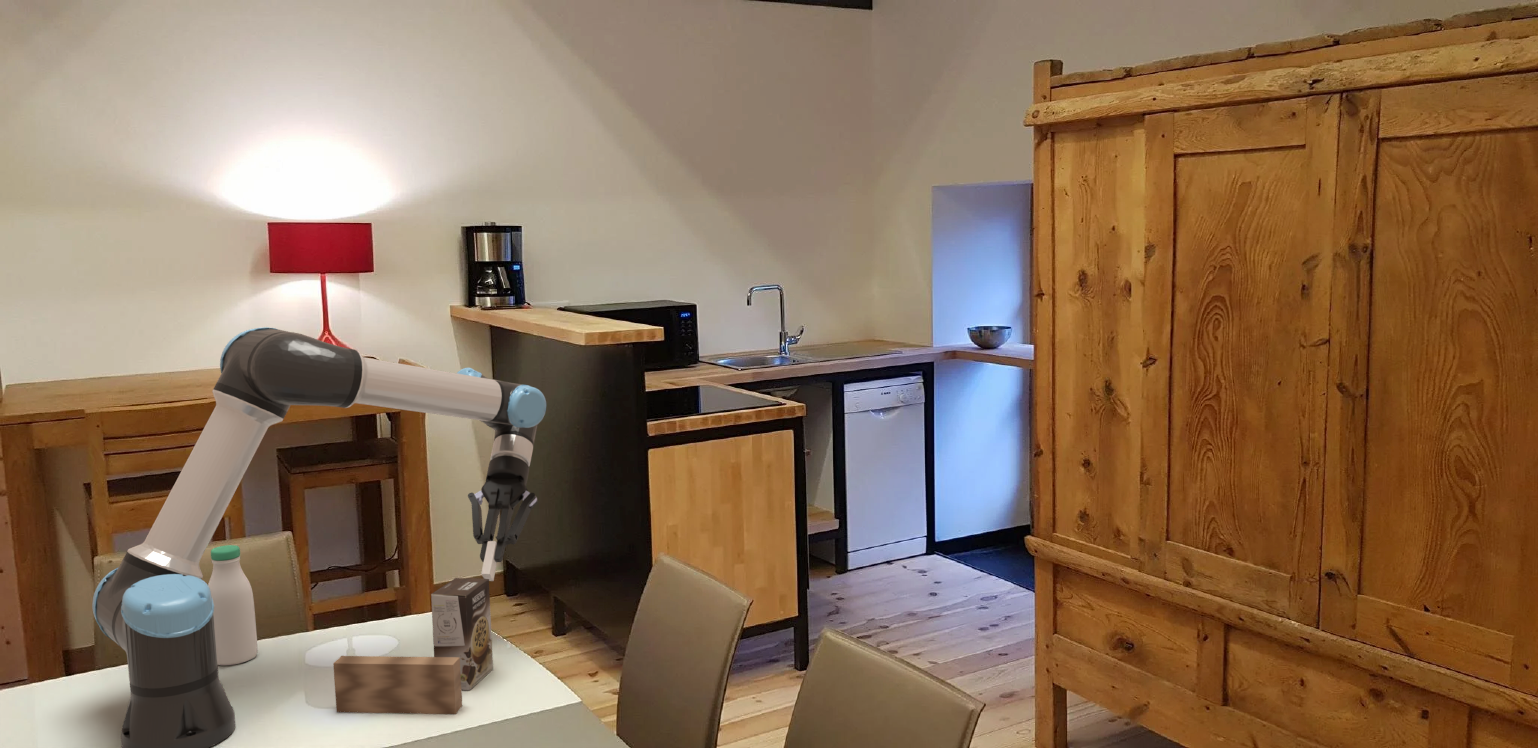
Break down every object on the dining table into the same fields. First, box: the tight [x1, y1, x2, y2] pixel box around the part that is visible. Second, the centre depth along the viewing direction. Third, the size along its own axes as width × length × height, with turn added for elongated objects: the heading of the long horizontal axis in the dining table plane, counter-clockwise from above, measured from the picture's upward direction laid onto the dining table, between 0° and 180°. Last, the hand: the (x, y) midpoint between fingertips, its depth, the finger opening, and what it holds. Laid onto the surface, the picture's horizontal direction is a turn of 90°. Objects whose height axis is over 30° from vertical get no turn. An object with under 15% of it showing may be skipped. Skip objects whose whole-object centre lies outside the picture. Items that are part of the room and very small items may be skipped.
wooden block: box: [332, 655, 463, 715], centre depth 178 cm, size 19×3×8 cm, turn 86°
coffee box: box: [430, 577, 494, 691], centre depth 189 cm, size 9×6×16 cm
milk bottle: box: [207, 544, 259, 666], centre depth 199 cm, size 8×8×20 cm
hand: (487, 577), depth 201 cm, fingers closed
